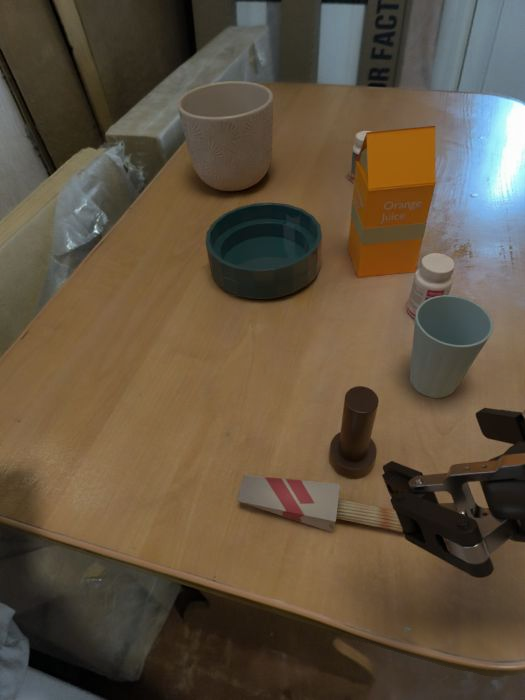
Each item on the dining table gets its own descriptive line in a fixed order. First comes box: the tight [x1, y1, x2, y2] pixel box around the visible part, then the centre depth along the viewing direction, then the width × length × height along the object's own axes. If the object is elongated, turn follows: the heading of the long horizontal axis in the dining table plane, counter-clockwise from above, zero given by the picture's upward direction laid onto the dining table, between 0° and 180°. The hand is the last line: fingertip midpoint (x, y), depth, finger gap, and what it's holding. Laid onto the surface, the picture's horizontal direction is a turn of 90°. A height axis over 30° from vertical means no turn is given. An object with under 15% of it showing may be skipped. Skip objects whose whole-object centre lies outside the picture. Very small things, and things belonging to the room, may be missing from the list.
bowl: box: [204, 202, 323, 300], centre depth 70 cm, size 17×17×6 cm
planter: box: [176, 80, 274, 192], centre depth 85 cm, size 17×17×15 cm
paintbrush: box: [236, 474, 403, 533], centre depth 44 cm, size 4×3×20 cm
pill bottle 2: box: [406, 252, 456, 320], centre depth 60 cm, size 5×5×8 cm
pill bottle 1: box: [349, 130, 373, 184], centre depth 85 cm, size 5×5×8 cm
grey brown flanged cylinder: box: [328, 385, 379, 479], centre depth 45 cm, size 5×5×11 cm
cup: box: [409, 294, 494, 399], centre depth 51 cm, size 8×8×10 cm
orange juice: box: [347, 125, 437, 278], centre depth 64 cm, size 8×9×20 cm
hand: (437, 448), depth 33 cm, fingers open, 8 cm apart
